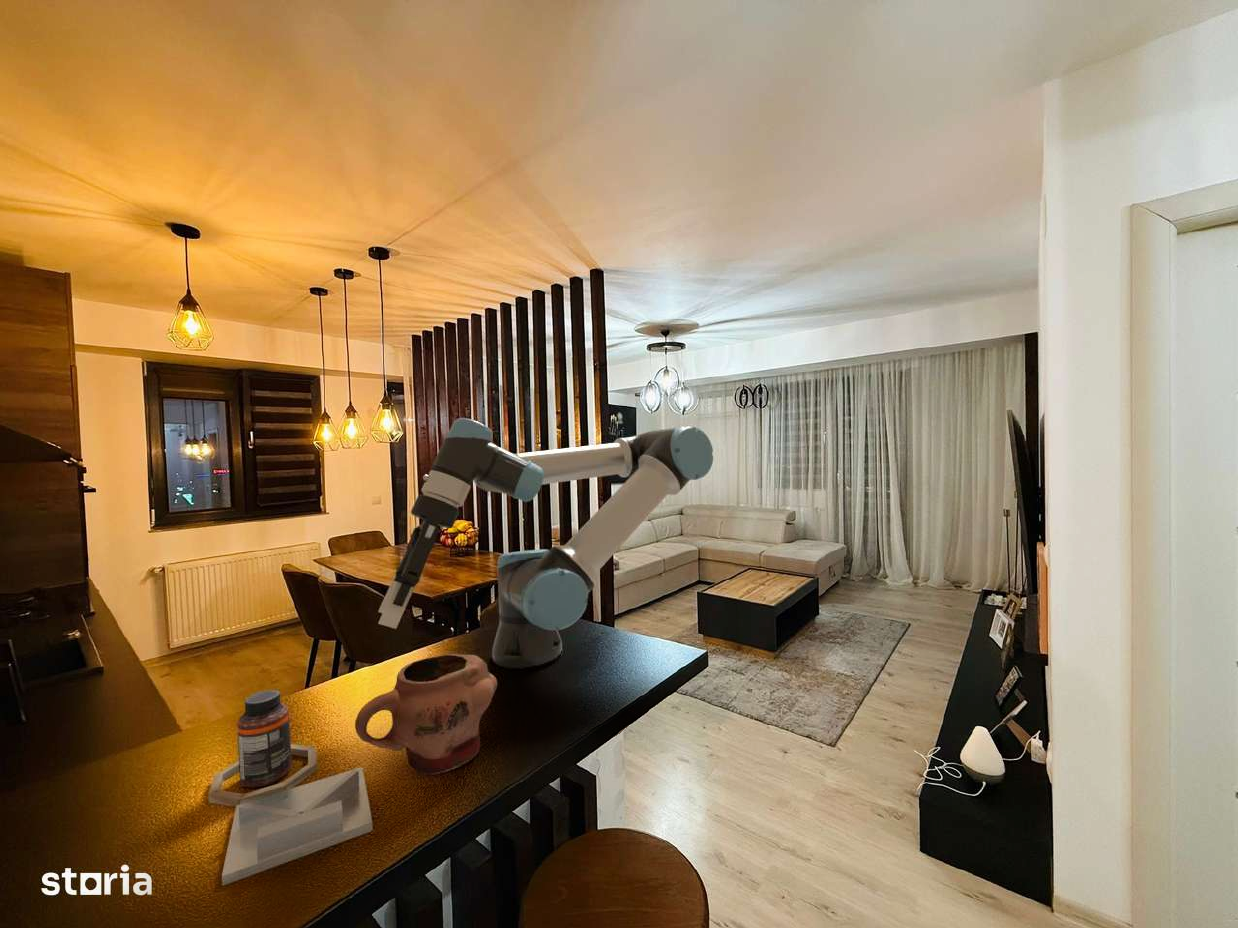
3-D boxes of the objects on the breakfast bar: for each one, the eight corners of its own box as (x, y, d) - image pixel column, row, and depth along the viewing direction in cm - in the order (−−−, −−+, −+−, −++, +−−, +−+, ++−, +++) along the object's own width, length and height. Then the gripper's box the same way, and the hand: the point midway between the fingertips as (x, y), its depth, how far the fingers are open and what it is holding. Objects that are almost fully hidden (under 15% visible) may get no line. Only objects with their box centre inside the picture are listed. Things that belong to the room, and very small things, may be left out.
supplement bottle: (261, 763, 74) (258, 686, 74) (301, 763, 74) (298, 685, 74) (228, 790, 68) (225, 706, 68) (271, 790, 68) (268, 705, 68)
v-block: (236, 813, 63) (235, 785, 63) (362, 773, 71) (361, 748, 71) (222, 885, 52) (220, 851, 52) (372, 830, 60) (371, 800, 60)
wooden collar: (315, 742, 79) (315, 736, 79) (317, 783, 69) (316, 775, 69) (218, 769, 73) (218, 762, 73) (203, 818, 63) (203, 810, 63)
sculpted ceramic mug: (381, 819, 61) (376, 704, 61) (342, 779, 70) (338, 678, 69) (516, 746, 76) (513, 654, 76) (471, 720, 84) (469, 637, 84)
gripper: (414, 497, 100) (365, 603, 94) (425, 486, 78) (361, 624, 72) (451, 512, 103) (405, 616, 97) (472, 504, 80) (413, 639, 74)
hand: (386, 619), depth 84 cm, fingers open, 13 cm apart
